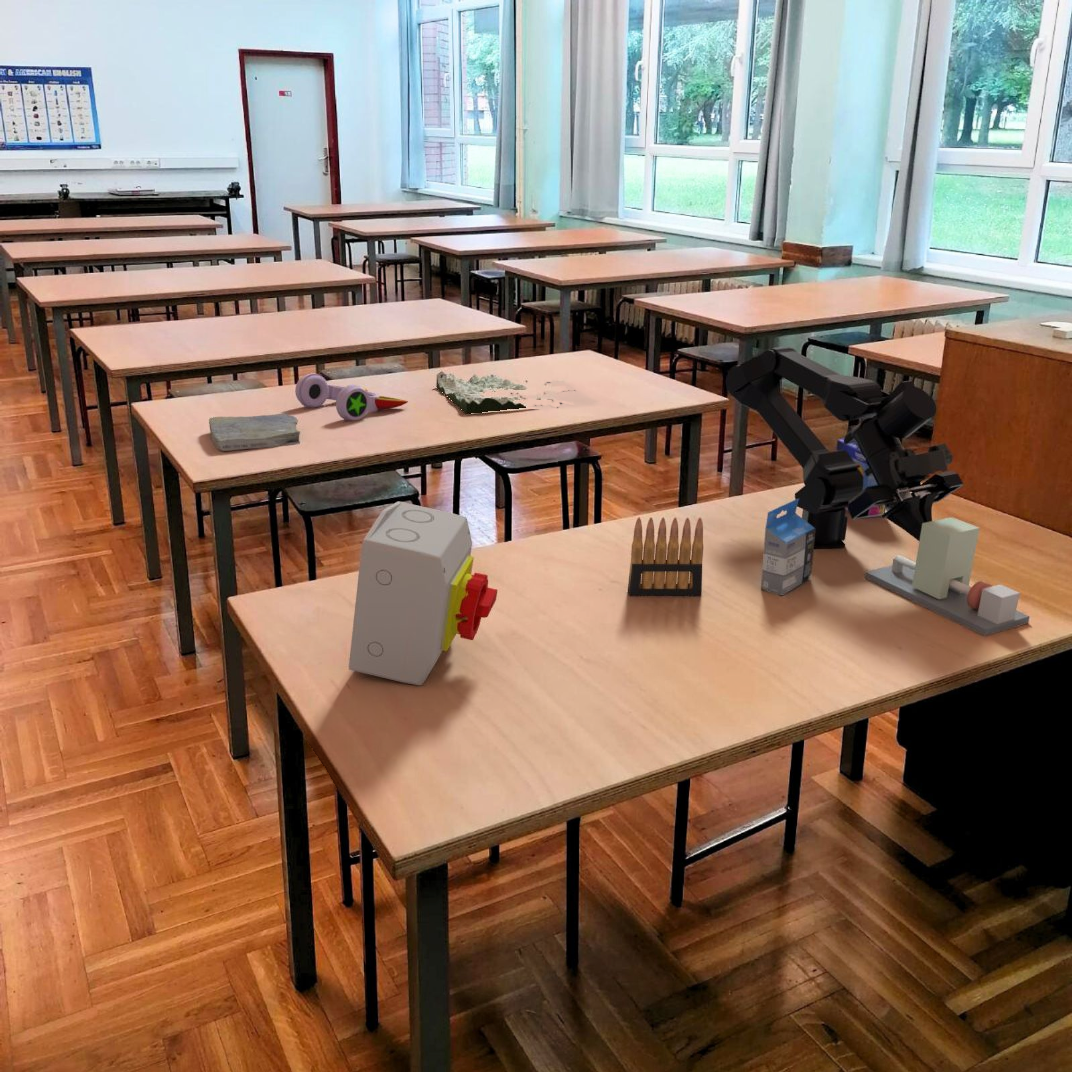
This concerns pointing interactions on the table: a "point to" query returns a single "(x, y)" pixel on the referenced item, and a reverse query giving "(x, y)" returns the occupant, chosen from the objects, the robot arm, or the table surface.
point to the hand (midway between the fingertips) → (930, 545)
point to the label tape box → (787, 550)
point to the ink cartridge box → (867, 481)
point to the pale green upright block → (944, 555)
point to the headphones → (342, 397)
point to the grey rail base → (956, 599)
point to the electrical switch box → (415, 592)
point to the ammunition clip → (666, 561)
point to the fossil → (253, 431)
